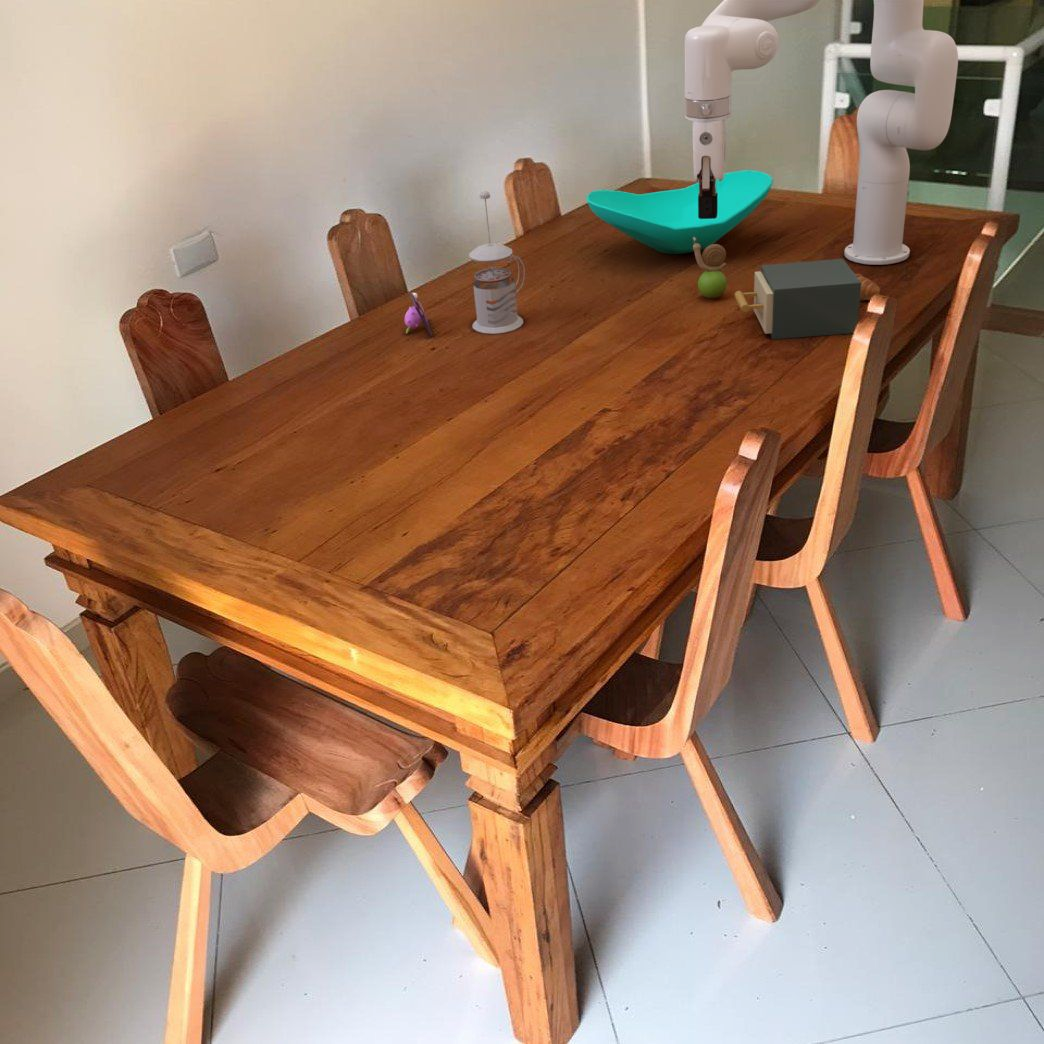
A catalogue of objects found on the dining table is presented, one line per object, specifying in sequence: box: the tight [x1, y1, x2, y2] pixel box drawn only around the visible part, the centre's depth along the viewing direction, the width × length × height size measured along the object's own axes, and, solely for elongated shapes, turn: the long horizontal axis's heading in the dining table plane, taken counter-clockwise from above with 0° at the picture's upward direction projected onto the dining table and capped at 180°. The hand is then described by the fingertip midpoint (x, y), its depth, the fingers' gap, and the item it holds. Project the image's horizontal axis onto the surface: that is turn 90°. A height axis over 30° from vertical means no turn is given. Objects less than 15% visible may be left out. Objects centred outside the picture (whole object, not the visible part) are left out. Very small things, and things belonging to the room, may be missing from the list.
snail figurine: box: [693, 237, 728, 299], centre depth 208 cm, size 5×6×12 cm
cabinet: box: [760, 258, 861, 340], centre depth 194 cm, size 15×13×9 cm
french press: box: [468, 190, 526, 335], centre depth 203 cm, size 10×12×25 cm
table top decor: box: [585, 169, 774, 255], centre depth 233 cm, size 40×28×13 cm
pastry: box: [853, 272, 881, 302], centre depth 205 cm, size 9×7×4 cm
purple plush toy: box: [404, 290, 434, 338], centre depth 208 cm, size 7×5×9 cm
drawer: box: [734, 270, 774, 335], centre depth 194 cm, size 17×11×7 cm, turn 90°
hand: (707, 217), depth 192 cm, fingers closed
